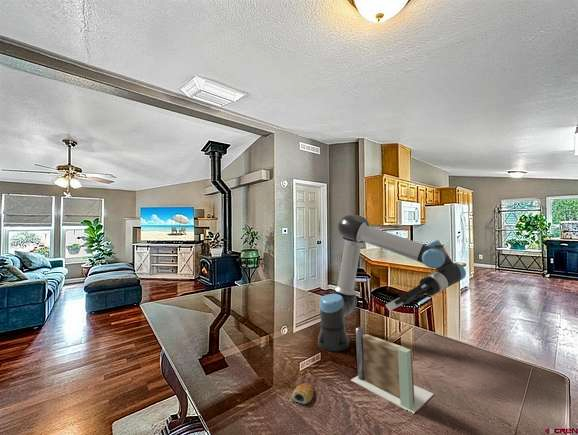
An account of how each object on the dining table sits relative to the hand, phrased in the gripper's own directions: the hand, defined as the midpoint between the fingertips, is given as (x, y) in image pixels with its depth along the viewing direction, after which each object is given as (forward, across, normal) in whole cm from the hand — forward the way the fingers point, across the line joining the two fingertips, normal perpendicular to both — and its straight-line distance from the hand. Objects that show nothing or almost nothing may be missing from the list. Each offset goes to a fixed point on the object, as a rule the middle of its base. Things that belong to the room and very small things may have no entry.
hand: (388, 307), depth 106 cm
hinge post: (+21, +12, -16) cm, 29 cm away
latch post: (+16, -2, -29) cm, 33 cm away
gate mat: (+14, +7, -23) cm, 27 cm away
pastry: (+44, +5, -12) cm, 46 cm away
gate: (+16, +4, -23) cm, 28 cm away
